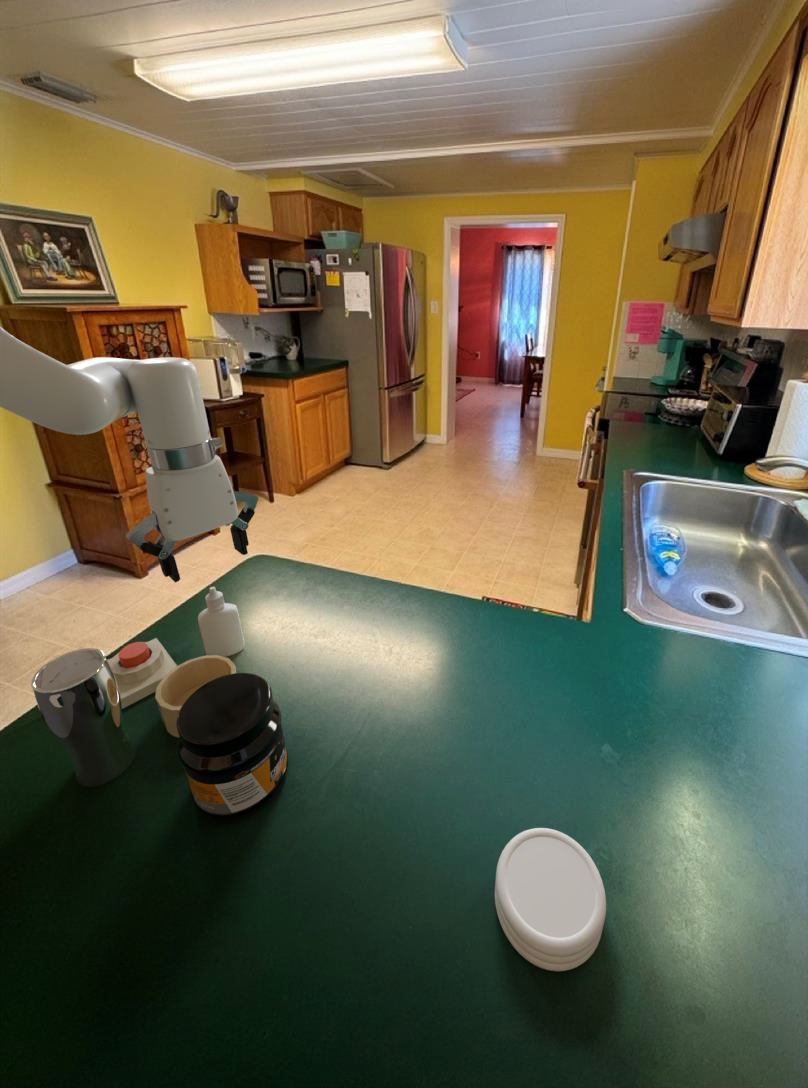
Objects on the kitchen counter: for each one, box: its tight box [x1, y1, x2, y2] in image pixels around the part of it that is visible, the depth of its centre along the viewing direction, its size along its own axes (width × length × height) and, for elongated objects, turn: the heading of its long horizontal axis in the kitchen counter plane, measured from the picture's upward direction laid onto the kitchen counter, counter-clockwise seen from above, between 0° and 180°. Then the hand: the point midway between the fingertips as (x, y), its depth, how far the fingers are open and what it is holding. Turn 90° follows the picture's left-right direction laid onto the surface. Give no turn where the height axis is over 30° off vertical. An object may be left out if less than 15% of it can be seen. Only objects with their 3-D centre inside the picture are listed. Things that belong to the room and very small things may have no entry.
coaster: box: [494, 827, 607, 972], centre depth 44 cm, size 10×10×4 cm
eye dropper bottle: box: [197, 586, 246, 658], centre depth 73 cm, size 4×6×12 cm
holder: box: [154, 654, 238, 738], centre depth 64 cm, size 10×10×5 cm
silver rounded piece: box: [30, 647, 137, 788], centre depth 55 cm, size 7×7×15 cm
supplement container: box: [176, 672, 289, 821], centre depth 53 cm, size 10×10×12 cm
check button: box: [118, 641, 150, 668], centre depth 69 cm, size 4×4×2 cm
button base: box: [107, 637, 178, 710], centre depth 70 cm, size 10×8×4 cm
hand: (209, 564), depth 69 cm, fingers open, 9 cm apart
